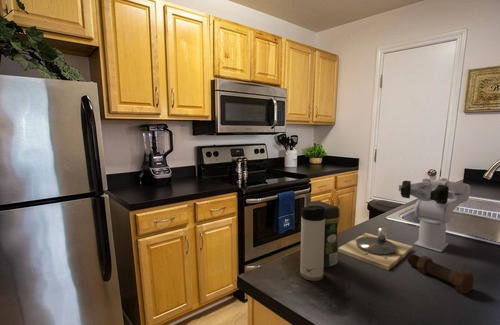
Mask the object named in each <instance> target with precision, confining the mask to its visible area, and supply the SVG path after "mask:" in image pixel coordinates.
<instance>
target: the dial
mask: <svg viewBox="0 0 500 325" xmlns="http://www.w3.org/2000/svg"><path fill="white" fill-rule="evenodd" d="M387 233H388V228H386V227H378V231H377V236H378V238H377V237H361V238H358V239H357V240H356V245H357V246H358V247H359V248H360V249H362V250H364V251H366V252H369V253H373V254H379V255H389V254H393V253H395V252H396V246H395V245H394V244H393V243H392V242H390V241H388V240H386V239H387Z"/></svg>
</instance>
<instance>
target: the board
mask: <svg viewBox="0 0 500 325" xmlns="http://www.w3.org/2000/svg"><path fill="white" fill-rule="evenodd" d="M361 237H377V238H378V235H374V234H371V233H368V232H365V233H362V235H359V236H358V237H355V238H354V239H352V240H350V241H348V242H347V243H345V244H342V245H341V246H338V253H341V254H344V255H345V256H349V257H351V258H354V259H357V260H359V261H362V262H365V263H367V264H370V265H372V266H376V267H379V268H380V269H384V270H386V271H389V270H391V269H392V268H393V267H394V266H395V265H397V264H398V263H399V262H400V261H401V260H402V259H404V258H405V257H406V256H407V255H409V253H410V252H412V251H413V248H414V246H413V245H409V244H407V243H406V244H405V243H403V242H402V243H401V242H399V241H395V240H392V239H388V238H386V240H388V241H390V242H392V243H393V244H394V245H395V246H396V252H395V253H393V254H389V255H379V254H373V253H369V252H366V251H364V250H362V249H360V248H359V247H358V246H357V245H356V240H357V239H358V238H361Z"/></svg>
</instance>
